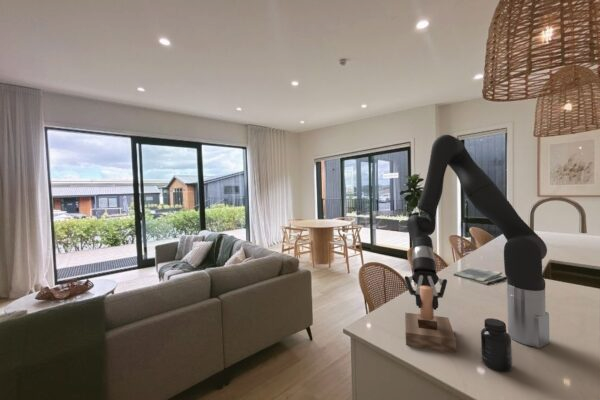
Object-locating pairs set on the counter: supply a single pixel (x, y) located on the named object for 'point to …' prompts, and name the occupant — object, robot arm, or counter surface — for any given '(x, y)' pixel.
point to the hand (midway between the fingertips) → (427, 307)
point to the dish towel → (481, 275)
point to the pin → (426, 303)
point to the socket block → (429, 332)
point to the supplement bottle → (496, 345)
